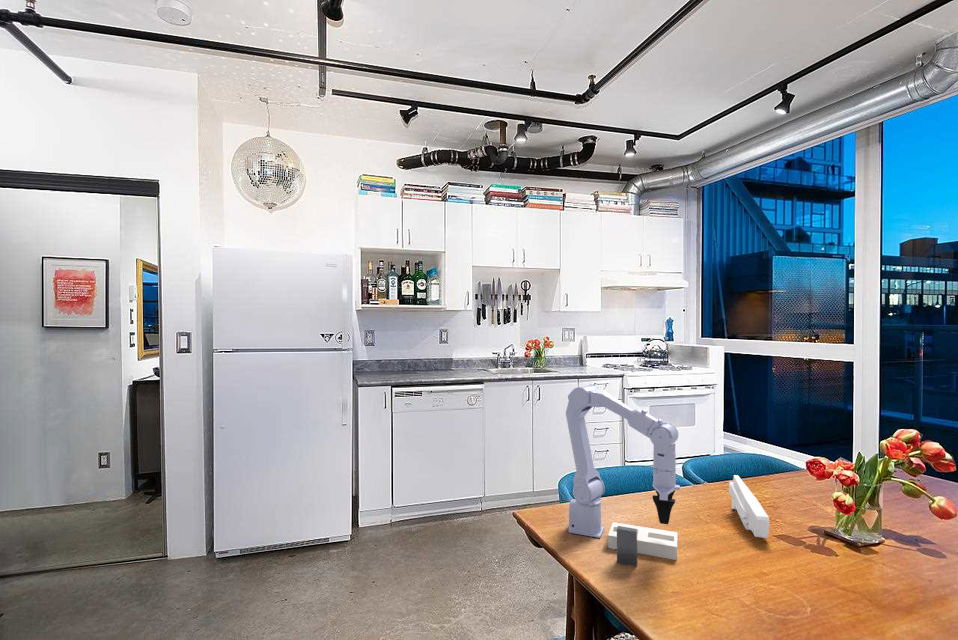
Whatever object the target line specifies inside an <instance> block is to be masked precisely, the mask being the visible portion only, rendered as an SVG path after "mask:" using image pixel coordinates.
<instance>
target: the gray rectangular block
mask: <svg viewBox="0 0 958 640" xmlns="http://www.w3.org/2000/svg"><path fill="white" fill-rule="evenodd" d="M616 564H620V565H621V564H622V565H626V566H630V567H638V553H637V529H634V528H628V527H622V526H618V527H617V549H616Z"/></svg>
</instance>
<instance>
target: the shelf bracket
mask: <svg viewBox="0 0 958 640" xmlns="http://www.w3.org/2000/svg"><path fill="white" fill-rule="evenodd" d="M732 480H733V481H729V484H728V485H729V486H728V493H729V496H730V497H731V507H730V509H731V510H736V511H737V515H738V516H739V518H740V520H741V523H742V525H743V527H744V528H745V530H746V531H751V532H752V533H753V535H754V537H755V538H763V539H768V538H769V534H770V533H769V532H770V523H771V522H770V517H769V515H768V514H767V513H766V511H765V510H764V507H762V505H761V503H760V502H759V500H758V499H757V497H756V496H755V495H754V494H753V493H752V491H751V490H750V488H749V487H748V486H747V485H746V483H745V482H744V480H742V479H741V477H740V476H739V475H738V474H737V475H736V474H734V475H733V478H732Z"/></svg>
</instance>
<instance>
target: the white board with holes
mask: <svg viewBox="0 0 958 640" xmlns="http://www.w3.org/2000/svg"><path fill="white" fill-rule="evenodd" d="M618 526H622V527H628V528H634V529H637V554H641V555H647V556H652V557H657V558H661V559H669V560H675V561H678V548H679V547H678V546H679V545H678V541H679V539H678V537H679V536H678V532H677V531H672V530H665V529H658V528H652V527H646V526H640V525H639V526H638V525H633V524H627V523H621V522H616V521H615V522H613V521H612V524H611V526H610V529H609V531H608V534H607V548H608V549H613V550H617V527H618Z"/></svg>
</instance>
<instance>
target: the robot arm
mask: <svg viewBox="0 0 958 640" xmlns="http://www.w3.org/2000/svg"><path fill="white" fill-rule="evenodd" d="M567 398H568V399H567V400H568V402H567V406H566V411H565V417H566V422H567V428H568V431H569V432H568V434H569V439H570V444H571V447H572V448H571V449H572V453H573V454H572V455H573V458H574V465H575V469H576V471H575V474H574V476H573V479H572V481H573V488H572V496H573V498H574V499H570V501H569V508H568V533H570V534H574V535H575V534H576V535H582V536H585V537H592V538H598V539H600V538H601V536H602V535H603V534H602V533H603V532H604V530H605V526H603V525H602V496H603V494H605V488H606V486H605V484H604V482H603V480H602V478H601V476H600V472H599V471H598V470H597V469H596V467H595V465H594V461H593V456H592V455H593V454H592V450H591V445H590V441H589V434H588V430H587V424H586V419H585V417H586V416H587V414H588V413H589V411H590V410H592V408H596V407H598V408H599V407H603V408H605V409H607V410H609V411H610V412H613V413H614V414H616V415H618V416H619V417H621V418H623V419H625V420H626V421H627V424H628V426H629V427H630V428H632V429H634V430H635V431H637V432H638V433H640V434H641V435H643V436H645V437H646V438H648V439H650V442H651V443H652V444H653V450H652V451H653V453H652V454H653V461H652V463H653V465H652V466H653V467H652V468H653V474H652V475H653V479H652V480H653V481H652V487H653V488H654V490H655V492H656V494H657V495H655V494H653V495H652V501H653V503H654V505H655V508H656V512H657V517H658V521H659V523H660V524H661V525H662V524H663V525H669V522H670V517H671V512H672V509H673V507H674V505H675V503H676V499H674V498H673V496H674V494H675V492H676V490H677V491H680V490H681V485H680V484H677V483H676V482H677V481H676V478H677V477H676V473H677V471H676V469H677V468H676V467H677V466H676V464H677V463H676V461H677V460H676V459H677V458H676V454H677V452H676V443H675V442H676V441H678V439H679V430H678V429H677V427H675V426H674V425H673V424H672V423H670V422H664V420H663V419H661V418H659V419H658V418H656V417H654V416H653V415H651V414H649V413H648V412H649V411H648V410H647V409H646V408H645V409H644V408H643V409H641V408H637V409H633V408H631V407H630V406H628V405H627V404H625V403H624V402H622V401H621V400H619V399H617V398H616V397H614V396H613V395H611V394H610V393H609V392H607V391H606V390H605V389H603V388H601V387H599V386H597V385H595V384H589V385H585V386H579V387H575V388H573V389H572V390H571V391H570V393H569V394H568V395H567Z"/></svg>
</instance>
